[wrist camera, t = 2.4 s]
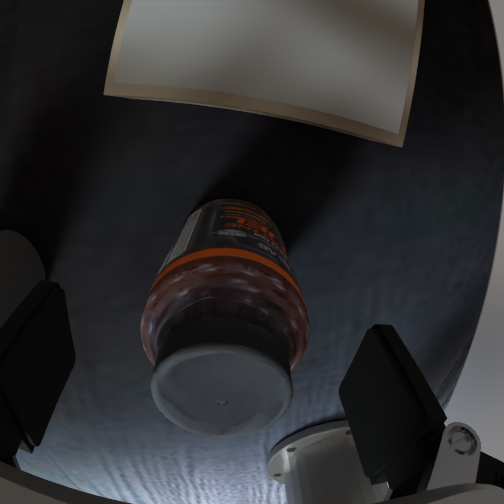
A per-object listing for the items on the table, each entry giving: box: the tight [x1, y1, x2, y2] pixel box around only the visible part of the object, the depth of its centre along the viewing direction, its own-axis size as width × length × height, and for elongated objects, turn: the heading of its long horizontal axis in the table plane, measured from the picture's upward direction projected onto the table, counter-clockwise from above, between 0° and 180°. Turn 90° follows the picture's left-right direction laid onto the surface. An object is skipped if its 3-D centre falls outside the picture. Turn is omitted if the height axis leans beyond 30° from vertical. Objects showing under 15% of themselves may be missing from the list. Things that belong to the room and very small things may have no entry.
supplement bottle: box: [141, 199, 309, 438], centre depth 13 cm, size 6×6×11 cm
